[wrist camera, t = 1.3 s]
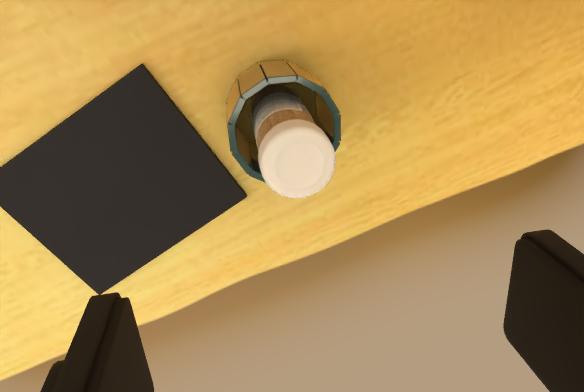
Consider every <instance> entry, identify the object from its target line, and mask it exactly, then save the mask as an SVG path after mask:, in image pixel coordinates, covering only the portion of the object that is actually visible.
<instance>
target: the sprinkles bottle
mask: <svg viewBox="0 0 584 392" xmlns="http://www.w3.org/2000/svg"><path fill="white" fill-rule="evenodd" d="M249 111H250V117H251V121H252V124H253V129H254V134H255V139H256V143H257V148H258V151H259V152H258V161H259V166H260V170H261V173H262V176H263V178H264V180H265V182H266V183H267V185H268V186H269V187H270V188H271V189H272V190H273V191H274V192H276V193H278V194H279V195H282V196H284V197H288V198H305V197H308V196H311V195H313V194H316V193H317V192H319V191H320V190H321V189H323V188H324V187H325V186H326V185H327V183H328V182H329V181H330V179H331V177H332V175H333V173H334V170H335V165H336V156H335V151H334V148H333V146H332V144H331V142H330V140H329V139H328V137H327V136H326V134H325V133H324V132H323V131H322V129H321V128H319V127H318V126H317V125H316V124H315V122H314V121H313V119H312V117H311V115H310V113H309V112H308V110H307V109H306V107H305V106H304V104H303V103H302V102H301V100H300V98H299V96H298V94H297V93H296V92H295V91H294V90H293V89H291V88H289V87H288V86H285V85H281V84H270V85H267V86H266V87H264V88H263V89H262V90H260V91H259V92H257V93H256V94H255V95H254V96H253V98H252V100H251V103H250V109H249Z"/></svg>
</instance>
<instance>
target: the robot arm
mask: <svg viewBox="0 0 584 392" xmlns="http://www.w3.org/2000/svg"><path fill="white" fill-rule="evenodd" d="M504 332H505V335H506V338H507V339H508V341H509V342H510V343H511V345H512V346H513V347H514V348H515V349H516V351H517V352H518V353H519V354H520V356H521V357H522V358H523V359H524V360H525V362H526V363H527V364H528V365H529V367H530V368H531V369H532V370H533V372H534V373H535V374H536V375H537V377H538V378H539V379H540V380H541V381H542V383H543V384H544V385H545V386H546V388H547V389H548V390H549V391H550V392H584V254H583V253H581V252H580V251H579V250H577V249H576V248H574V247H573V246H572V245H570V244H569V243H568V242H566V241H565V240H564V239H562V238H561V237H560V236H558V235H557V234H556V233H554V232H553V231H551V230H540V231H534V232H527V233H525V234H523V235H522V237H521V239H520V240H518V241H517V242H516V245H515V249H514V257H513V263H512V271H511V277H510V284H509V290H508V298H507V304H506V311H505V318H504ZM41 392H154V387H153V381H152V378H151V374H150V371H149V367H148V364H147V360H146V356H145V353H144V349H143V346H142V342H141V338H140V335H139V331H138V328H137V324H136V321H135V317H134V313H133V310H132V306H131V303H130V300H129V298H127V297H126V298H121V296H120V294H119V293H117V292H116V293H109V294H103V295H96V296H92V297H91V298H90V299H89V302H88V304H87V306H86V309H85V311H84V314H83V316H82V319H81V321H80V323H79V326H78V328H77V331H76V333H75V336H74V338H73V340H72V343H71V345H70V348H69V350H68V353H67V355H66V357H65V360H63V361H57V362H56V363H54V364H53V366H52V367H51V369H50V371H49V374H48V376H47V378H46V380H45V383H44V385H43V387H42V390H41Z"/></svg>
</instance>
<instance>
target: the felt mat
mask: <svg viewBox="0 0 584 392" xmlns="http://www.w3.org/2000/svg"><path fill="white" fill-rule="evenodd" d="M246 197H247V195H246V193H245V192H244V190H243V189H242V188H241V187H240V185H239V184H238V183H237V182H236V180H235V179H234V178H233V177H232V175H231V174H230V173H229V172H228V170H227V169H226V168H225V167H224V165H223V164H222V163H221V162H220V160H219V159H218V158H217V157H216V155H215V154H214V153H213V152H212V150H211V149H210V148H209V147H208V145H207V144H206V143H205V142H204V140H203V139H202V138H201V136H200V135H199V134H198V133H197V131H196V130H195V129H194V128H193V126H192V125H191V124H190V123H189V121H188V120H187V119H186V118H185V116H184V115H183V114H182V113H181V111H180V110H179V109H178V108H177V106H176V105H175V104H174V103H173V101H172V100H171V99H170V98H169V96H168V95H167V94H166V93H165V91H164V90H163V89H162V87H161V86H160V85H159V84H158V82H157V81H156V80H155V79H154V77H153V76H152V75H151V74H150V72H149V71H148V70H147V69H146V67H145V66H144V65H143V64H141V65H139V66H138V67H137V68H135V69H134V70H133V71H131V72H130V73H128V74H127V75H126V76H124V77H123V78H122V79H120V80H119V81H118V82H116V83H115V84H113V85H112V86H111V87H109V88H108V89H107V90H105V91H104V92H103V93H101V94H100V95H99V96H97V97H96V98H94V99H93V100H92V101H90V102H89V103H88V104H86V105H85V106H84V107H82V108H81V109H79V110H78V111H77V112H75V113H74V114H73V115H71V116H70V117H69V118H67V119H66V120H64V121H63V122H62V123H60V124H59V125H58V126H56V127H55V128H54V129H52V130H51V131H49V132H48V133H47V134H45V135H44V136H43V137H41V138H40V139H39V140H37V141H36V142H34V143H33V144H32V145H30V146H29V147H28V148H26V149H25V150H24V151H22V152H21V153H20V154H18V155H17V156H15V157H14V158H13V159H11V160H10V161H9V162H7V163H6V164H5V165H3V166H2V167H0V207H2V208H3V209H4V210H5V211H6V212H7V213H8V214H9V215H10V216H12V217H13V218H14V219H15V220H16V221H17V222H18V223H19V224H21V225H22V226H23V227H24V228H25V229H26V230H27V231H28V232H29V233H31V234H32V235H33V236H34V237H35V238H36V239H37V240H38V241H39V242H41V243H42V244H43V245H44V246H45V247H46V248H47V249H48V250H50V251H51V252H52V253H53V254H54V255H55V256H56V257H57V258H58V259H60V260H61V261H62V262H63V263H64V264H65V265H66V266H67V267H68V268H70V269H71V270H72V271H73V272H74V273H75V274H76V275H77V276H79V277H80V278H81V279H82V280H83V281H84V282H85V283H86V284H87V285H89V286H90V287H91V288H92V289H93V290H94V291H95V292H96V293H97V294H99V295H100V294H102V293H103V292H105V291H106V290H108V289H109V288H111V287H112V286H114V285H115V284H117V283H118V282H120V281H121V280H123V279H124V278H126V277H127V276H129V275H130V274H132V273H133V272H135V271H136V270H138V269H139V268H141V267H142V266H144V265H145V264H147V263H148V262H150V261H151V260H153V259H154V258H156V257H157V256H159V255H160V254H162V253H163V252H165V251H166V250H168V249H169V248H171V247H172V246H174V245H175V244H177V243H178V242H180V241H181V240H183V239H184V238H186V237H187V236H189V235H190V234H192V233H193V232H195V231H196V230H198V229H199V228H201V227H202V226H204V225H205V224H207V223H208V222H210V221H211V220H213V219H214V218H216V217H217V216H219V215H220V214H222V213H223V212H225V211H226V210H228V209H229V208H231V207H232V206H234V205H235V204H237V203H238V202H240V201H241V200H243V199H244V198H246Z"/></svg>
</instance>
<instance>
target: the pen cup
mask: <svg viewBox="0 0 584 392" xmlns="http://www.w3.org/2000/svg"><path fill="white" fill-rule="evenodd" d="M293 82H297V83H299V84H301V85H303V86H305V87H307V88H309V89H311V90H313V91H314V93H315V94H316V118H315V120H314V122H315V124H316V125H317V126H318V127H319V128H321V129H322V131H323V132H324V133H325V134H326V136H327V137H328V139H329V140H330V142H331V144H332V146H333V148H334V151H335V152H336V150H337V148H338V146H339V144H340V142H339V141H341V115H340V114H339V113H340V112H339V110H338V108H337V107H336V105H335V103H334V102H333V100H332V99H331V97H330V95H329V94H328V92H327V91H326V89H325V88H324V87H323V86H322V85H321V84H320V83H319V82H318V81H317V80H316V79H315V78H314V77H313V76H312V75H311V74H310V73H309V72H308V71H307V70H305V69H303V68H301V67H299V66H297V65H295V64H293V63H291V62H289V61H287V60H286V61H285V60H272V61H260V64H259V63H258V62H257V63H256V64H254V65H253V66H252V67H250V68H249V69H247V70H246V71H245V72H243V73H242V74H240V75H239V76H238V78H236V80H235V82H234V85H233V87H232V89H231V91H230V94H229V96H228V98H227V102H226V103H227V124H228V134H229V142H230V151H231V152H232V155H233V156H234V158H235V159H236V160H237V161H238V163H239V164H240V165H241V167H242V168H243V169H244V170H245V172H246V173H247V174H249V176H251V177H254V178H256V179H258V180H261V181H263V182H265V180H264V178H263V176H262V173H261V170H260V166H259V161H258V152H259V151H258V148H257V145H256V144H253V143H251V142H249V141H247V139H246V138H245V137H244V135H243V134H242V133H241V131H240V130H239V129H238V127H237V126H236V125H235V123H236V121H237V119H238V117H239V114H240V112H241V110H242V108H243V106H244V104H245V102H246V100H247V99H249V98H250V97H252V96H253V95H254V94H256V93H257V92H259V91H260V90H262V89H263V88H264V87H266V86H267V85H269V84H281V83H293Z"/></svg>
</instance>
